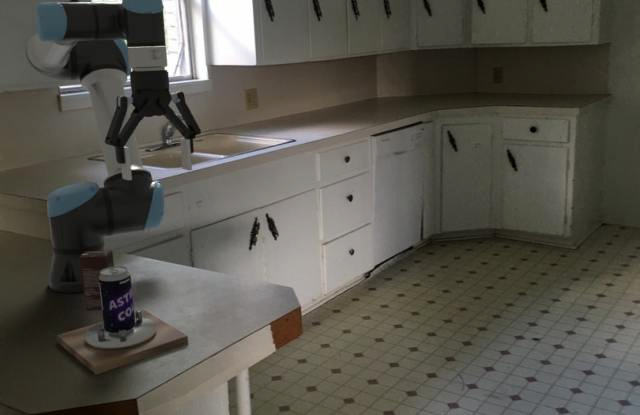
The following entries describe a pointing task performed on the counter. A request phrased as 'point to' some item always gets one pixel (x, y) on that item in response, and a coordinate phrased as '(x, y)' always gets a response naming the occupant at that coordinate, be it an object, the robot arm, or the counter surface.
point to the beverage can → (116, 299)
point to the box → (94, 275)
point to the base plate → (110, 360)
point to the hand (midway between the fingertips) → (158, 174)
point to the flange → (121, 335)
